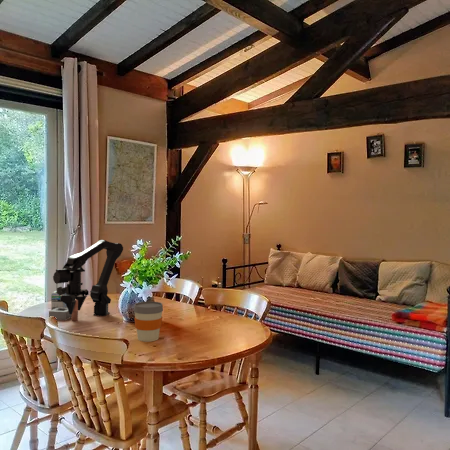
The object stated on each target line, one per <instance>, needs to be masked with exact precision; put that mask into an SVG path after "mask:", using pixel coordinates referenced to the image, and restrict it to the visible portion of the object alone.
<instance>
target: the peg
mask: <svg viewBox="0 0 450 450" xmlns="http://www.w3.org/2000/svg"><path fill="white" fill-rule="evenodd" d="M75 301H76V303H75V306H74V309H73V312H72V317H71V320H72V322H78V320H79V310H78V300H76V299H75Z"/></svg>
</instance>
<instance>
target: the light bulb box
mask: <svg viewBox="0 0 450 450" xmlns="http://www.w3.org/2000/svg"><path fill="white" fill-rule="evenodd" d="M56 292H57V289H56V290H55V291H52V292H50V293H51V294H50V295H51V296H50V297H51V300H50V301H51V304H50V306H51V307H50V308H51V309H50V310H53V309H55V308H57V307H63V308H67V306H66V304H65V303H64V302H62V301H60V297H61V296H62V295H60V296H59V294H57V293H56ZM65 294H66V293H65ZM63 295H64V294H63Z"/></svg>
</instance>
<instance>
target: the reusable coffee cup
mask: <svg viewBox="0 0 450 450" xmlns="http://www.w3.org/2000/svg"><path fill="white" fill-rule="evenodd" d="M163 311H164V307H163V303H162V302H159V301H140V302H136V303H134V306H133V312H134V327H135V329H136V334H137V335H136V336H137V337H136V338H137V340H138V341H140V342H144V343H145V342H147V343H149V342H155V341H157V340H159V337H160V331H161V330H160V329H161V328H162V321H163V316H162V315H163Z"/></svg>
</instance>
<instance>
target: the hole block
mask: <svg viewBox="0 0 450 450" xmlns="http://www.w3.org/2000/svg"><path fill="white" fill-rule="evenodd" d="M50 316H54V317H56V318H57V319H56V320H59V321H60V320H62V321H63V320H64V321H67V320H68V319H70V318H71V319H72V314H69V311H68V308H63V307H57V308H55V309H53V310H51V309H50V310H48V318H49V317H50Z"/></svg>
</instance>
